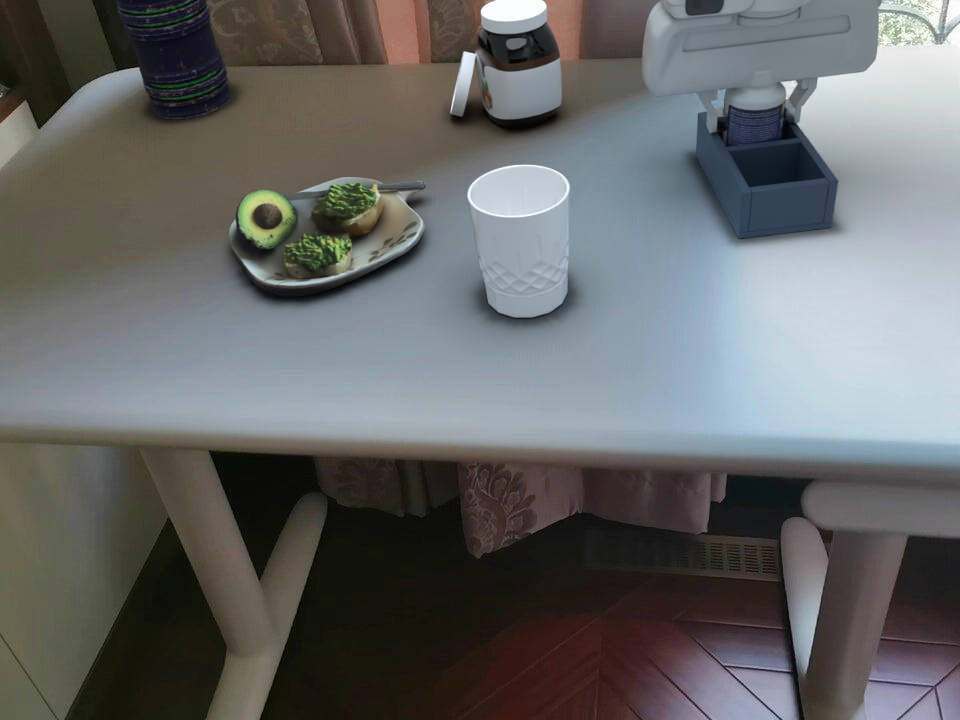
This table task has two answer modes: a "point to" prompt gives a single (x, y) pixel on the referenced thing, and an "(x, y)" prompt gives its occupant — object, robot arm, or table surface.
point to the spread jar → (513, 65)
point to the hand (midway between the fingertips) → (751, 125)
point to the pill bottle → (754, 111)
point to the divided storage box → (768, 182)
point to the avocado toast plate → (323, 233)
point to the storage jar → (177, 56)
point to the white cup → (522, 237)
